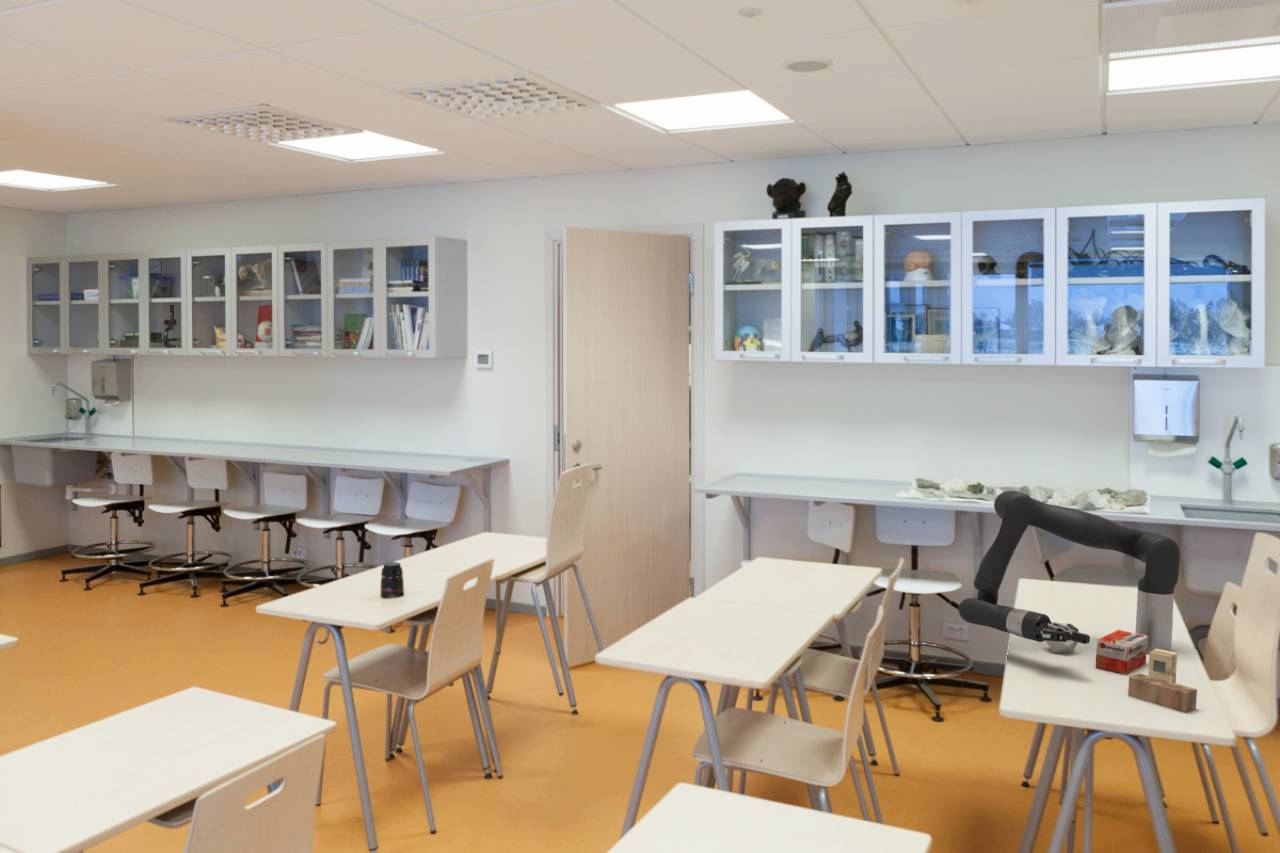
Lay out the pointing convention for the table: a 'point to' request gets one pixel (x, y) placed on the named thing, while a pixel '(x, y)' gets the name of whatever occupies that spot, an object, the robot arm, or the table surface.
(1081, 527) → the robot arm
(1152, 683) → the walnut block
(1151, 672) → the maple block
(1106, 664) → the medicine box
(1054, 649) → the die
